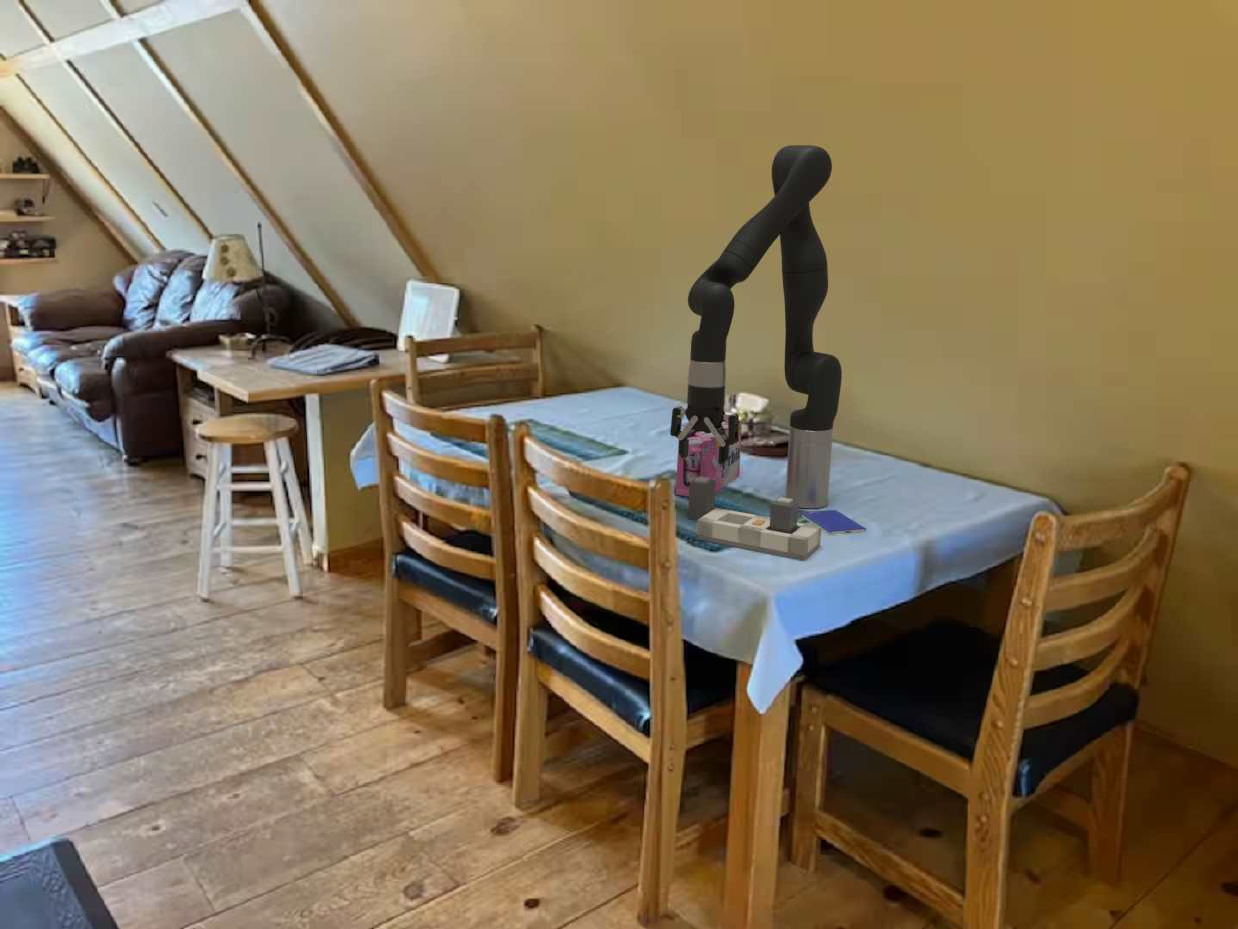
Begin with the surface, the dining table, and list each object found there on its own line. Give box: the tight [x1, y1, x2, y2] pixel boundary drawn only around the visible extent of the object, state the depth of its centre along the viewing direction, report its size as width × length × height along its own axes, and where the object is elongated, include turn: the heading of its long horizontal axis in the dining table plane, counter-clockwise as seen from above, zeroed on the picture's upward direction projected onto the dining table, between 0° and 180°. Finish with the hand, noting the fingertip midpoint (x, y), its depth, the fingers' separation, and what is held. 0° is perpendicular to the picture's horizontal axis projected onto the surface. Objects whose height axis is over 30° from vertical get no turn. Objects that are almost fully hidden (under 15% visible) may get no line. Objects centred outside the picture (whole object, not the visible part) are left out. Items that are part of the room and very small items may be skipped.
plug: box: [687, 476, 716, 522], centre depth 206 cm, size 4×4×9 cm
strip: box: [696, 507, 822, 561], centre depth 192 cm, size 22×9×4 cm, turn 60°
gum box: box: [675, 420, 743, 498], centre depth 228 cm, size 24×8×14 cm, turn 155°
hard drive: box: [801, 509, 867, 536], centre depth 204 cm, size 2×8×12 cm
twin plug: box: [769, 497, 799, 534], centre depth 189 cm, size 4×4×9 cm
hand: (702, 460), depth 204 cm, fingers open, 8 cm apart
